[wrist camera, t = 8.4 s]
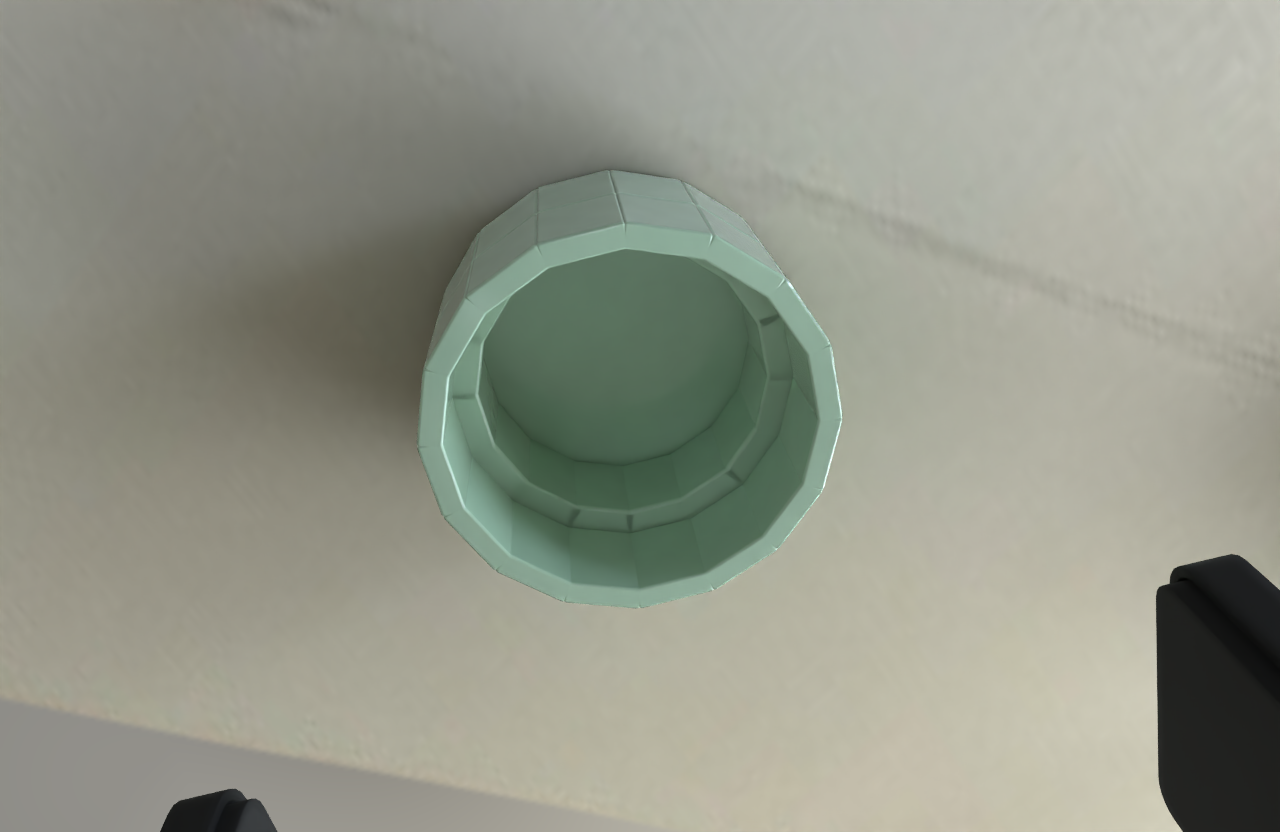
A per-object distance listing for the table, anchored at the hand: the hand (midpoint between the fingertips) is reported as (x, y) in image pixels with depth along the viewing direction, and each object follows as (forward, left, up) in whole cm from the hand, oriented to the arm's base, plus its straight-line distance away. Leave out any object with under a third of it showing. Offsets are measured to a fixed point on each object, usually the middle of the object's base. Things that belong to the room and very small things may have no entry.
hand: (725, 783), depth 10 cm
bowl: (0, 0, -13) cm, 13 cm away
